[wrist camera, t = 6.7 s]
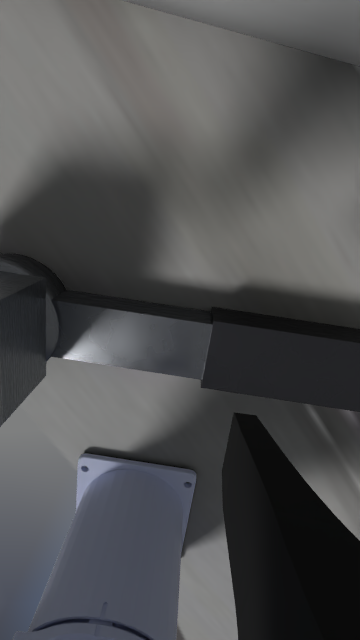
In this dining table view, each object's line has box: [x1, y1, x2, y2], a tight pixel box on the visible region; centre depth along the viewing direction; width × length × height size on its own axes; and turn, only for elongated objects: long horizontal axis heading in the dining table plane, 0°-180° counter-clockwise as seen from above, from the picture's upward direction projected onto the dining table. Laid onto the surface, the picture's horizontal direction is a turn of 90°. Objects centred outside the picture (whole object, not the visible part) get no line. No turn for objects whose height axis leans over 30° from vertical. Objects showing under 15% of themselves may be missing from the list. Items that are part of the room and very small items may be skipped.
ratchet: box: [0, 254, 360, 412], centre depth 16 cm, size 6×23×5 cm, turn 82°
